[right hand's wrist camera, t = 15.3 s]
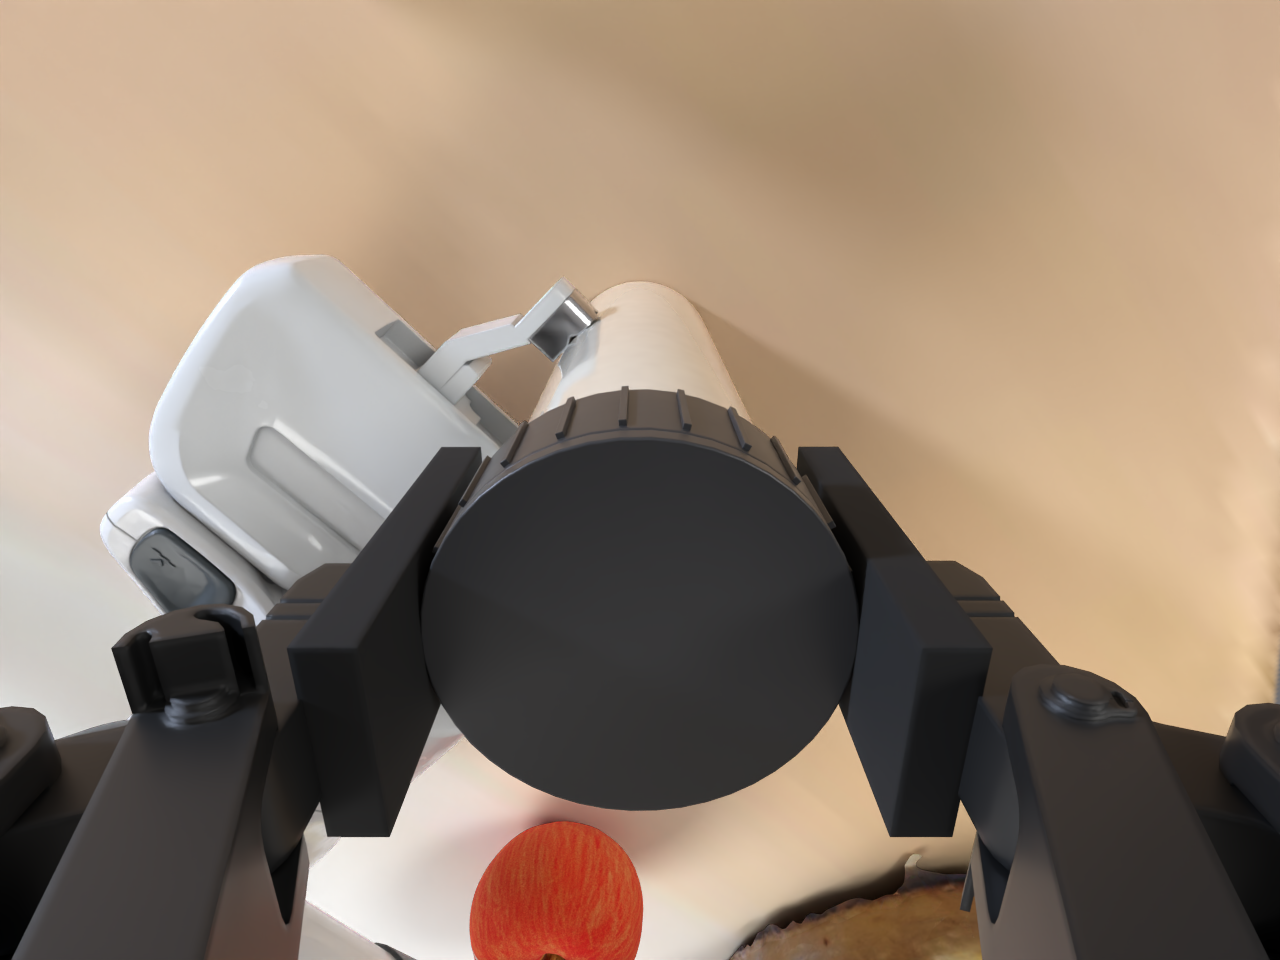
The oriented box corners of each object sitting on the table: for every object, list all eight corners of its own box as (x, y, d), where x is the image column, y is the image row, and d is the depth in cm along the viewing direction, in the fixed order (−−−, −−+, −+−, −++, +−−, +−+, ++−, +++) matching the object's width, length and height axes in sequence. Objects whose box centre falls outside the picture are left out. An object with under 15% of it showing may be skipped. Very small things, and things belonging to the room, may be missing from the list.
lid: (389, 458, 12) (330, 522, 9) (766, 325, 11) (798, 360, 9) (540, 748, 14) (521, 856, 12) (862, 655, 13) (908, 751, 11)
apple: (483, 898, 39) (446, 1066, 31) (492, 782, 36) (453, 938, 28) (631, 912, 39) (629, 1081, 32) (652, 799, 36) (655, 956, 29)
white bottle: (592, 261, 27) (503, 397, 9) (729, 306, 27) (888, 514, 10) (554, 396, 29) (420, 719, 11) (683, 436, 29) (747, 801, 12)
